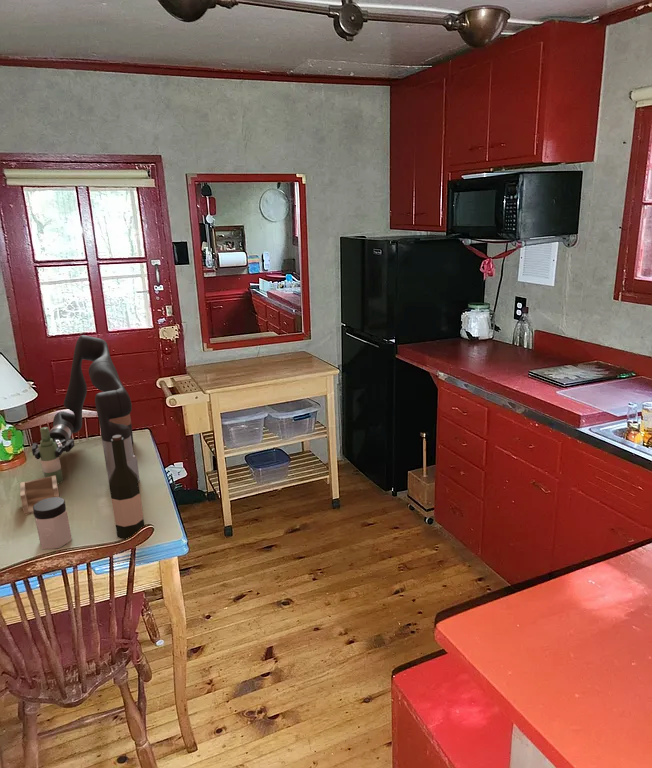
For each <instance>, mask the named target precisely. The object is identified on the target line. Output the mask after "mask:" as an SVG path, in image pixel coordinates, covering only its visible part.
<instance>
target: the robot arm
mask: <svg viewBox="0 0 652 768" xmlns="http://www.w3.org/2000/svg"><path fill="white" fill-rule="evenodd" d="M84 360H85V361H89V362H92V363H91V364H90V365H89V367H88V375H89V378H90V381H91V383H92V385H93V386H94V388H95V389H97V390H99V391H101V392H98V393H96V394H95V396H94V404H95V410H96V413H97V417H98V423H99V429H100V430H99V431H100V434H101V435H100V437H101V441H102V448H103V455H104V461H105V466H106V467H105V468H106V473H107V481H109V479H110V477H111V475H112V473H113V471H114V469H115V462H114V455H113V449H112V442H111V439H113V438H112V436H114V435H121V437H123V440H124V447H125V453H126V460H127V465H128V466H129V467H130V468H131V469H132V470H133V471H134V472H135V473H136V474H137V477H138V483H139V482H140V481H141V479H140V473H139V472H140V471H139V465H138V458H137V455H135V454H134V449H133V447H134V446H133V444H132V440H131V433H130V428H129V427H128V426H126V425H123V424H116V423H113V422H111V421H110V419H114V418H120V417H124V416H127V415H129V414H130V415H131V412H132V408H133V404H132V400H131V397H130V395H129V393H128V391H127V389H126V388H125V386H124V384H123V383H122V380H121V379H120V376H119V373H118V370H117V369H116V368H117V367H116V366H115V365H114V362H113V360H112V358H111V354H110V348H109V346H108V343H107V341H106V340H104V339H103V338H99V337H94V336H90V335H85V334H83V335H82V334H81V335H80V336H79V337H78V338H77V340H76V343H75V346H74V351H73V357H72V363H71V368H70V369H71V370H70V375H69V376H70V377H69V382H68V386H67V389H66V393H65V397H64V401H63V406H64V408H65V409H67V410H69V411H71V412H72V413H69V412H66V411H58V412H57V413H56V414H55V415H54V417H53V421H52V422H53V424H52V426H53V427H52V428H51V429H50V430H49V434H50V438H52V439H53V442H56V445H57V449H56V451H55V454H56V457H59V458H60V456H61V455H62V454H64V453H65V452H66V453H69V452H70V451H71V450H72V449H73V448H74V447H75V446H76V445H75V441H74V438H71V436H72V435H73V434H75V433H78V432H80V430H81V429H82V427H83V409H84V408H83V406H84V403H85V400H86V397H87V393H88V386H87V382H86V380H85V377H84V374H83V370H82V362H83V361H84ZM39 445H40V444H38V443H37V442H34V443H32V446H31V452H32V456H34V458H35V459H36V460H41V458H40V453H39V448H38V446H39Z"/></svg>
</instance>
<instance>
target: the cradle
mask: <svg viewBox="0 0 652 768" xmlns="http://www.w3.org/2000/svg"><path fill="white" fill-rule="evenodd" d="M19 484H20V486H19V488H20V491H19V492H20V495H19V496H20V501H21V505H22V509H23V515H24V516H26V515H25V514H27V515H31V514H34V511H33V506H34V505H35V504H36V503H37V502H39V501H41V500H43V499H47V498H52V497H60V492H59V487H58V484H57V480H56V475H54V476H50V477H45V478H44V477H40V478H37V479H31V480H26V481H22V482H20V483H19ZM30 513H31V514H30Z"/></svg>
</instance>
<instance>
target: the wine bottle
mask: <svg viewBox="0 0 652 768" xmlns="http://www.w3.org/2000/svg"><path fill="white" fill-rule="evenodd" d="M112 438H113V439H111V442H112V449H113V455H114V462H115V469H114V471H113V473H112V475H111V477H110V479H109V480H108V484H109V485H108V487H109V492H110V500H111V505H112V511H113V512H112V513H113V518H114V522H115V523H114V524H115V530H116V536H117V537H116V538H118V539H122V540H125V539H126V538H128V537H130V536H132V535H133V534H134V533H135V532H137V531H138V530H139V529H140V528H141V527H143V526H145V519H144V513H143V506H142V500H141V499H142V498H141V493H140V492H141V491H140V485H139V482H138V477H137V474H136V473H135V472H134V471H133V470H132V469H131V468H130V467H129V466H128V465H127V460H126V453H125V447H124V440H123V437H121V435H114V436H112Z"/></svg>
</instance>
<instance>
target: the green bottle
mask: <svg viewBox="0 0 652 768" xmlns="http://www.w3.org/2000/svg"><path fill="white" fill-rule="evenodd" d="M49 429H50V428H49V427H48V426H44V427H41V428H40V429H39V431H40V438H41V440H40V441H39V443H40V445H39V444H38V445H39V446H38V448H39V453H40V463H41V468H42V473H43V478H45V477H50V476H54V475H56V480H57V485H59V484H61V483H63V481H64V477H63V471H62V466H61V460H60V456H59V457H56V454H55V451H56V449H57V445H56V442H53V439H52V438H50V434H49V431H50V430H49ZM58 483H59V484H58Z"/></svg>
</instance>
